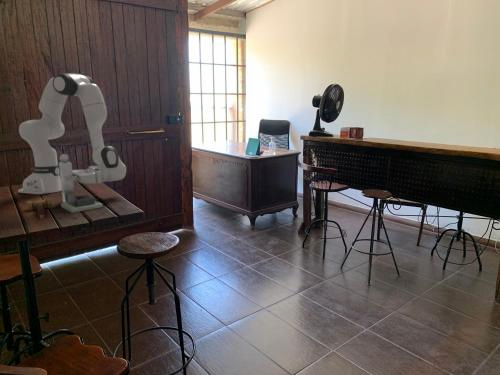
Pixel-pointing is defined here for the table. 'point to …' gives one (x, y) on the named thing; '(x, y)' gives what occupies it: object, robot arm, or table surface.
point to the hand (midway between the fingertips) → (64, 178)
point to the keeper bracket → (80, 203)
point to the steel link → (66, 172)
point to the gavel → (40, 206)
